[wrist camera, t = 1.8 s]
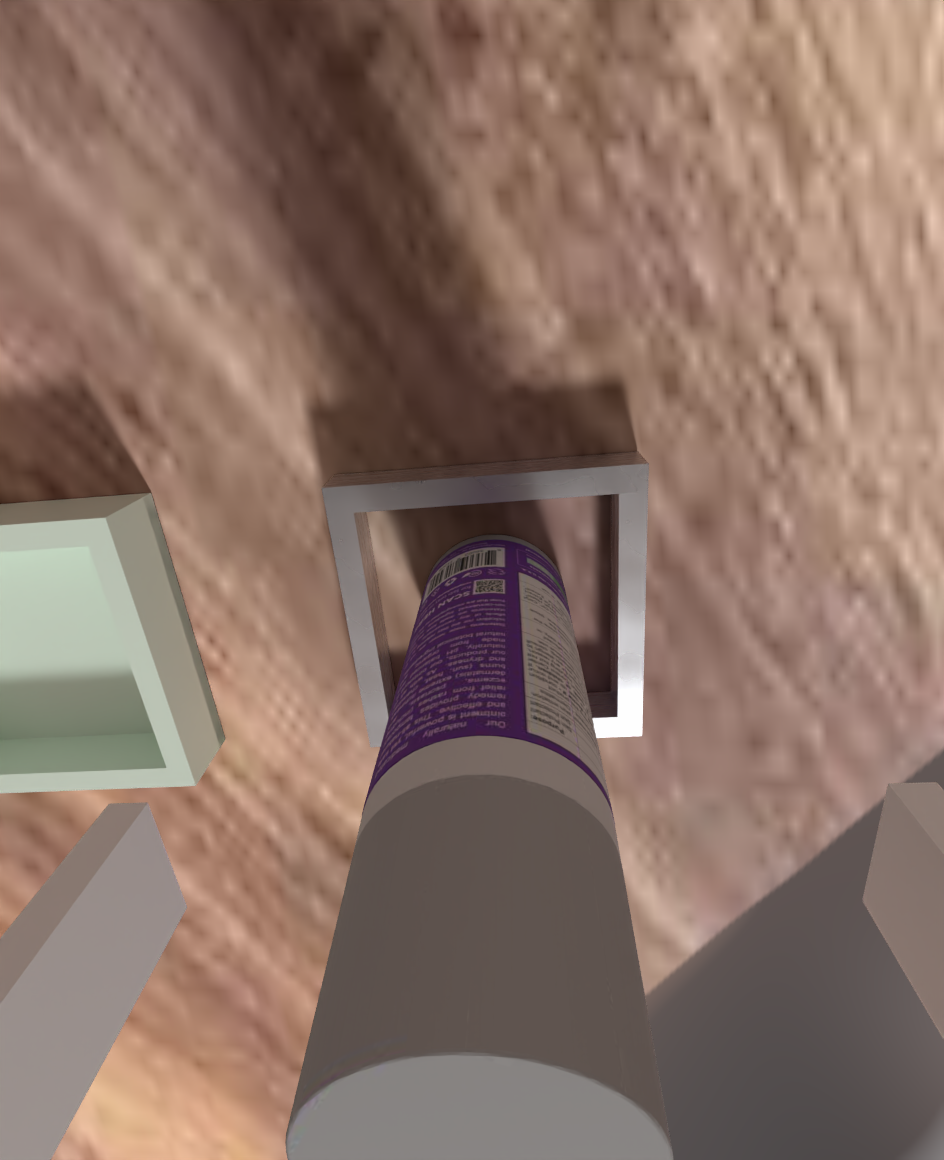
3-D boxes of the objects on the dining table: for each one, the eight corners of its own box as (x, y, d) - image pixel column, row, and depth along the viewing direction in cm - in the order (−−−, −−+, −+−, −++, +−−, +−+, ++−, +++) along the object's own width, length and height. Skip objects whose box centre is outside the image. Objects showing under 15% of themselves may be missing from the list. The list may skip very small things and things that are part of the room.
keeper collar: (378, 720, 23) (370, 747, 22) (334, 474, 19) (321, 488, 18) (633, 709, 22) (641, 735, 21) (637, 451, 19) (648, 463, 17)
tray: (-13, 749, 24) (-66, 795, 22) (-129, 514, 21) (-208, 540, 18) (225, 739, 24) (195, 786, 21) (151, 492, 20) (105, 517, 18)
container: (415, 648, 22) (265, 1237, 8) (434, 521, 20) (281, 1012, 6) (548, 671, 22) (623, 1290, 8) (580, 547, 20) (747, 1083, 6)
